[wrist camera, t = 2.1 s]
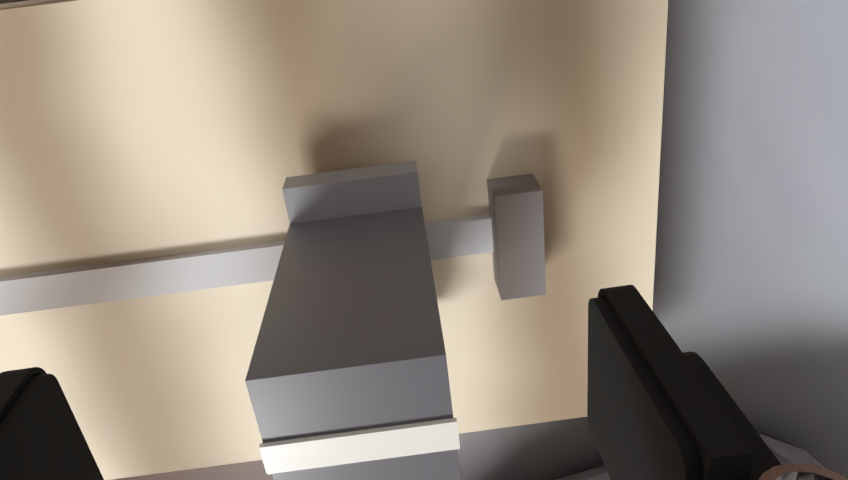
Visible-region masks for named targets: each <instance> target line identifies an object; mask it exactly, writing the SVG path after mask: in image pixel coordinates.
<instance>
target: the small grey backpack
mask: <svg viewBox="0 0 848 480" xmlns="http://www.w3.org/2000/svg"><path fill="white" fill-rule="evenodd" d="M758 434H759V433H758ZM759 435H760V437H761V438H762V439H763V441H764V442H765V443H766V445H767V446H768V447H769V449H770V450H771V451H772V452H773V454H774V455H775V456H776V458H777V459H778V460H779V462H780V463H781V464H782V465H783V464H787V463H804V464H811V465H815V466H819V467H824V466H823V465H822V464H821V463H820V462H818V461H817V460H816V459H815V458H814V457H813V456H811V455H810V454H809V453H808V452H807V451H806V450H803V449H800V448H797V447H795V446H792V445H789V444H787V443H784V442H781V441H778V440H776V439H773V438H770V437H768V436H765V435H762V434H759ZM824 468H825V467H824ZM555 480H611V479H610V477H609V474H608V472H607V470H606V467H605V465H604V466H600V467H597V468H593V469H590V470H586V471H583V472H579V473H576V474H572V475H569V476H565V477H562V478H558V479H555Z"/></svg>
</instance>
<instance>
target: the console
mask: <svg viewBox="0 0 848 480" xmlns="http://www.w3.org/2000/svg"><path fill="white" fill-rule="evenodd" d="M667 17H668V0H25V1H17V2H9V3H1V4H0V373H2V372H5V371H11V370H18V369H25V368H32V367H39V368H42V369H43V370H44V371H45V372H46V373H47V374H53V375H54V376H55V377H56V378H57V380H58V382H59V384H60V386H61V388H62V391H63V393H64V395H65V397H66V399H67V401H68V403H69V406H70V408H71V410H72V412H73V414H74V416H75V418H76V421H77V423H78V425H79V427H80V429H81V431H82V433H83V436H84V438H85V440H86V442H87V444H88V446H89V449H90V451H91V453H92V455H93V457H94V459H95V461H96V464H97V466H98V468H99V470H100V472H101V474H102V476H103V479H104V480H112V479H119V478H127V477H135V476H142V475H150V474H157V473H165V472H172V471H180V470H187V469H195V468H203V467H210V466H218V465H225V464H233V463H240V462H248V461H255V460H262V456H261V453H260V449H259V446H260V443H263V441H262V438H261V434H260V431H259V428H258V424H257V421H256V417H255V414H254V410H253V407H252V403H251V400H250V396H249V393H248V389H247V386H246V383H245V379H246V376H247V372H248V369H249V365H250V362H251V358H252V355H253V351H254V348H255V344H256V341H257V337H258V334H259V330H260V327H261V323H262V320H263V316H264V313H265V309H266V306H267V302H268V299H269V295H270V292H271V288H272V285H273V281H274V278H275V274H276V271H277V267H278V263H279V260H280V256H281V253H282V249H283V246H284V242H285V239H286V235H287V232H288V228H289V225H290V223H289V218H288V214H287V209H286V205H285V200H284V196H283V191H282V188H283V185H284V182H285V179H286V177H292V176H300V175H308V174H316V173H324V172H331V171H339V170H347V169H355V168H363V167H371V166H378V165H386V164H394V163H402V162H410V161H416V165H417V171H418V178H419V186H420V195H421V203H422V210H423V216H424V222H425V229H426V235H427V241H428V247H429V253H430V259H431V265H432V272H433V278H434V284H435V290H436V296H437V302H438V309H439V315H440V321H441V327H442V333H443V339H444V346H445V352H446V359H447V368H448V376H449V385H450V393H451V402H452V410H453V418H456V419H457V426H458V434H460V433H467V432H475V431H482V430H490V429H497V428H505V427H513V426H520V425H528V424H535V423H543V422H550V421H558V420H565V419H573V418H581V417H588V416H587V391H588V302H589V299H591V298H598V293H599V290H600V289H603V288H610V287H617V286H624V285H634V286H635V288H636V289H637V290H638V291H639V293H640V294H641V296H642V297H643V298H644V300H645V301H646V303H647V304H648V305H649V307H650V308H651V310H652V308H653V289H654V269H655V250H656V231H657V211H658V192H659V172H660V153H661V133H662V114H663V94H664V75H665V55H666V36H667Z"/></svg>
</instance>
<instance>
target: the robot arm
mask: <svg viewBox="0 0 848 480" xmlns="http://www.w3.org/2000/svg"><path fill="white" fill-rule="evenodd" d="M587 416H588V424H589V428H590V432H591V435H592V437H593V440H594V442H595V444H596V446H597V449H598V451H599V453H600V456H601V458H602V460H603V463H604V465H605V467H606V470H607V472H608V474H609V477H610V479H611V480H848V478H847V477H845V476H843V475H841V474H838V473H836V472H834V471H831V470H829V469H827V468H824V467H819V466H815V465H811V464H804V463H787V464H783V465H782V464H781V463H780V462H779V460H778V459H777V458H776V456H775V455H774V454H773V452H772V451H771V450H770V449H769V447H768V446H767V445H766V443H765V442H764V441H763V439H762V438H761V437H760V435H759V434H758V433H757V431H756V430H755V429H754V427H753V426H752V425H751V423H750V422H749V421H748V419H747V418H746V417H745V415H744V414H743V413H742V411H741V410H740V409H739V407H738V406H737V405H736V403H735V402H734V401H733V399H732V398H731V397H730V395H729V394H728V393H727V391H726V390H725V389H724V387H723V386H722V385H721V383H720V382H719V381H718V379H717V378H716V377H715V375H714V374H713V373H712V371H711V370H710V369H709V367H708V366H707V365H706V363H705V362H704V361H703V359H702V358H701V357H700V356H699V355H698V354H697V353H694V352H685V353H682V351H681V350H680V349H679V347H678V346H677V344H676V343H675V342H674V340H673V339H672V338H671V336H670V335H669V333H668V332H667V331H666V329H665V328H664V326H663V325H662V324H661V322H660V321H659V319H658V318H657V317H656V315H655V314H654V312H653V311H652V310H651V308H650V307H649V305H648V304H647V303H646V301H645V300H644V298H643V297H642V296H641V294H640V293H639V291H638V290H637V289H636V288H635V286H634V285H624V286H617V287H610V288H603V289H600V290H599V293H598V298H591V299H589V302H588V391H587ZM0 480H104V479H103V476H102V474H101V472H100V470H99V468H98V466H97V464H96V461H95V459H94V457H93V455H92V453H91V451H90V449H89V446H88V444H87V442H86V440H85V438H84V436H83V433H82V431H81V429H80V427H79V425H78V423H77V421H76V418H75V416H74V414H73V412H72V410H71V408H70V406H69V403H68V401H67V399H66V397H65V395H64V393H63V391H62V388H61V386H60V384H59V382H58V380H57V378H56V377H55V376H54V375H53V374H47V373H46V372H45V371H44V370H43V369H42V368H39V367H32V368H25V369H18V370H11V371H5V372H2V373H0Z"/></svg>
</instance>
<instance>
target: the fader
mask: <svg viewBox="0 0 848 480" xmlns="http://www.w3.org/2000/svg"><path fill="white" fill-rule="evenodd" d="M282 191H283V196H284V200H285V205H286V209H287V214H288V218H289V223H290V225H289V228H288V232H287V235H286V239H285V242H284V246H283V249H282V253H281V256H280V260H279V263H278V267H277V271H276V274H275V278H274V281H273V285H272V288H271V292H270V295H269V299H268V302H267V306H266V309H265V313H264V316H263V320H262V323H261V327H260V330H259V334H258V337H257V341H256V344H255V348H254V351H253V355H252V358H251V362H250V365H249V369H248V372H247V376H246V379H245V383H246V386H247V389H248V393H249V396H250V400H251V403H252V407H253V410H254V414H255V417H256V421H257V424H258V428H259V431H260V434H261V438H262V441H263V443H260V446H259V449H260V453H261V456H262V460H263V463H264V466H265V470H266V473H267V474H272V476H273V479H274V480H461V479H460V470H459V462H458V453H457V449H460V443H459V435H458V426H457V419H456V418H453V410H452V402H451V393H450V385H449V376H448V368H447V359H446V352H445V346H444V339H443V333H442V327H441V321H440V315H439V309H438V302H437V296H436V290H435V284H434V278H433V272H432V265H431V259H430V253H429V247H428V241H427V235H426V229H425V222H424V216H423V210H422V203H421V195H420V186H419V178H418V171H417V165H416V161H410V162H402V163H394V164H386V165H378V166H371V167H363V168H355V169H347V170H339V171H331V172H324V173H316V174H308V175H300V176H292V177H286V179H285V182H284V185H283V188H282Z"/></svg>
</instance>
